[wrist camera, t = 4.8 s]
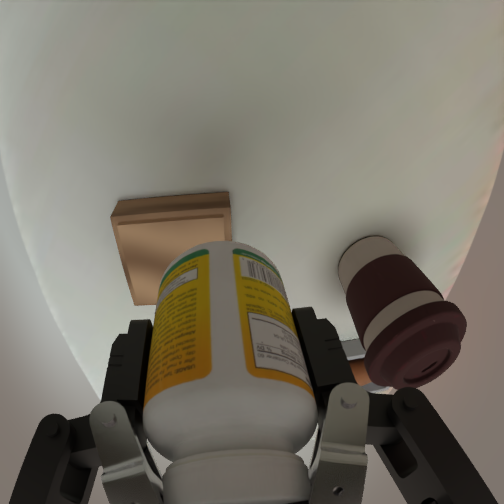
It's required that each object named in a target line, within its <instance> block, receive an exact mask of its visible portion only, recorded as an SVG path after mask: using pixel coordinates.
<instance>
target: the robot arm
mask: <svg viewBox="0 0 504 504" xmlns="http://www.w3.org/2000/svg"><path fill="white" fill-rule="evenodd" d="M292 317H293V320H294V324H295V327H296V331H297V334H298V338H299V341H300V345H301V349H302V352H303V356H304V360H305V363H306V367H307V370H308V374H309V378H310V382H311V385H312V388H313V392H314V397H315V401H316V405H317V410H318V429H317V433H316V438H315V443H314V447H313V452H312V456H311V461H310V465H309V469H308V475H309V480H310V486H311V490H310V494H309V498H308V500H306V501H300V502H294V503H288V504H361V502H362V497H363V491H364V484H365V477H366V470H367V463H368V457H367V454H365V444H371V445H373V446H374V447H375V449H376V451H377V453H378V454H379V456H380V458H381V459H382V461H383V463H384V464H385V466H386V468H387V469H388V471H389V473H390V475H391V476H392V478H393V480H394V481H395V483H396V485H397V486H398V488H399V490H400V491H401V493H402V495H403V497H404V498H405V500H406V502H407V504H498V503H497V501H496V500H495V498H494V496H493V495H492V493H491V492H490V490H489V488H488V487H487V485H486V484H485V482H484V481H483V479H482V478H481V476H480V475H479V473H478V471H477V470H476V469H475V467H474V465H473V464H472V463H471V461H470V459H469V458H468V456H467V455H466V454H465V452H464V451H463V449H462V448H461V446H460V445H459V443H458V442H457V440H456V439H455V437H454V436H453V434H452V433H451V432H450V430H449V429H448V427H447V426H446V424H445V423H444V422H443V420H442V419H441V417H440V416H439V414H438V413H437V412H436V410H435V409H434V408H433V406H432V405H431V403H430V402H429V401H428V399H427V398H426V396H425V395H424V394H423V393H422V392H421V391H420V390H418V389H416V388H413V387H404V388H401V389H399V390H397V391H396V392H395V394H394V395H388V394H375V393H371V392H368V391H366V390H365V389H364V388H363V387H361V386H360V385H359V384H358V383H357V382H356V380H355V377H354V375H353V372H352V369H351V367H350V364H349V362H348V359H347V356H346V354H345V351H344V349H343V346H342V344H341V341H340V340H339V336H338V334H337V331H336V329H335V327H334V326H333V325H332V324H331V323H330V322H329V321H328V320H327V319H326V318H325V319H317V318H316V315H315V312H314V310H313V308H312V307H304V308H295V309H292ZM152 332H153V326H152V323H151V320H150V319H147V320H131V321H130V324H129V329H128V334H119V335H118V337H117V338H116V340H115V341H114V343H113V344H112V348H111V353H110V358H109V362H108V367H107V372H106V377H105V382H104V388H103V393H102V399H101V402H100V404H98V405H97V406H95V407H94V408H93V410H92V411H91V413H90V414H89V415H86V416H83V417H79V418H75V419H71V420H67V419H66V418H65V417H63V416H62V415H60V414H50V415H47V416H46V417H44V418H43V419H42V420H41V422H40V423H39V425H38V427H37V430H36V432H35V434H34V437H33V439H32V442H31V444H30V447H29V449H28V452H27V454H26V457H25V459H24V462H23V465H22V467H21V470H20V473H19V475H18V478H17V481H16V484H15V487H14V490H13V493H12V496H11V499H10V502H9V504H88V501H89V498H90V495H91V491H92V488H93V484H94V481H95V477H96V474H97V471H98V467H99V466H102V467H103V472H104V473H103V474H102V475H101V479H102V484H103V487H104V490H105V492H106V495H107V498H108V501H109V503H110V504H164V501H163V483H162V477H163V476H162V474H161V472H160V470H159V468H158V466H157V463H156V461H155V459H154V456H153V454H152V452H151V449H150V447H149V445H148V442H147V437H146V434H145V432H144V428H143V407H144V398H145V387H146V379H147V371H148V363H149V355H150V348H151V339H152Z"/></svg>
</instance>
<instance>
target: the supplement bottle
mask: <svg viewBox="0 0 504 504" xmlns="http://www.w3.org/2000/svg"><path fill="white" fill-rule="evenodd" d="M317 422H318V410H317V405H316V401H315V397H314V392H313V388H312V385H311V382H310V378H309V374H308V370H307V367H306V363H305V360H304V356H303V352H302V349H301V345H300V341H299V338H298V334H297V331H296V327H295V324H294V320H293V317H292V313H291V309H290V305H289V302H288V298H287V295H286V292H285V288H284V285H283V282H282V279H281V276H280V274H279V271H278V270H277V268H276V266H275V265H274V264H273V262H272V261H271V260H270V259H269V258H268V257H267V256H266V255H265V254H263V253H262V252H260V251H259V250H257V249H255V248H253V247H251V246H249V245H246V244H242V243H239V242H233V241H213V242H207V243H203V244H199V245H196V246H194V247H193V248H190V249H188V250H187V251H185V252H184V253H182V254H181V255H179V256H178V257H177V258H176V259H175V260H173V261H172V262H171V264H170V265H169V266H168V267H167V269H166V270H165V272H164V274H163V276H162V279H161V282H160V287H159V292H158V298H157V305H156V311H155V319H154V326H153V332H152V339H151V348H150V355H149V363H148V371H147V379H146V387H145V398H144V407H143V428H144V432H145V434H146V437H147V439H148V441H149V442H150V443H151V445H152V446H153V448H154V449H155V450H156V451H157V452H159V453H160V454H161V455H162V456H164V457H165V458H167V459H168V460H170V461H172V462H173V463H172V464H170V465H169V466H168V467H167V468H166V473H165V474H164V475H163V477H162V483H163V501H164V504H288V503H294V502H300V501H306V500H308V498H309V494H310V490H311V486H310V480H309V475H308V468H307V466H306V465H305V464H304V461H303V460H302V458H301V457H299V456H298V455H296V454H295V453H297V452H298V451H299V450H301V449H302V448H303V447H304V446H305V445H306V444H307V443H308V442H309V440H310V439H311V437H312V436H313V434H314V432H315V429H316V426H317Z"/></svg>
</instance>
